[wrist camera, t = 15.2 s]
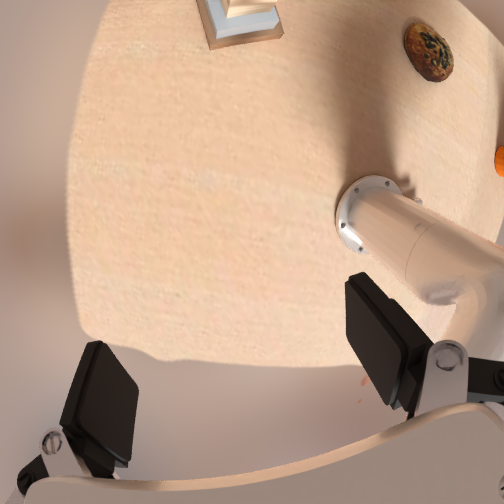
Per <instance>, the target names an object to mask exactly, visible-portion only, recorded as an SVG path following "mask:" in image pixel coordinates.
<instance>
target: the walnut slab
mask: <svg viewBox="0 0 504 504" xmlns="http://www.w3.org/2000/svg"><path fill="white" fill-rule="evenodd" d="M196 1H197V4H198V8H199V12H200V15H201V19H202V23H203V26H204V30H205V33H206V37H207V41H208V44H209V48H210V50H215V49H219V48H224V47H229V46H234V45H239V44H245V43H251V42H257V41H264V40H272V39H280V37H281V36H282V35H283V34H284V31H283V28H282V25H281V21H280V18H279V15H278V12H277V9H276V6H275V5H274V7H275V10H276V12H277V15H278V18H279V22H278V23H277V24H276V26H275V27H274V29H266V30H260V31H253V32H248V33H242V34H237V35H232V36H227V37H223V38H219V39H216V36H215V33H214V30H213V27H212V24H211V21H210V17H209V14H208V11H207V8H206V5H205V2H204V0H196Z"/></svg>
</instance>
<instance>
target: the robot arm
mask: <svg viewBox="0 0 504 504" xmlns="http://www.w3.org/2000/svg"><path fill="white" fill-rule="evenodd" d="M354 189H355V190H354ZM341 223H342V224H341ZM336 228H337V232H338V235H339V237H340V239H341V240H342V242H343V243H344V244H345V245H346V246H347V247H348V248H349V249H350V250H352V251H354V252H356V253H359V254H371V255H372V256H373V257H374V258H375V259H376V260H378V261H379V262H380V263H381V264H382V265H383V266H384V267H385V268H386V269H387V270H388V271H390V272H391V273H392V274H393V275H394V276H395V277H396V278H397V279H398V280H399V281H400V282H401V283H402V284H403V285H404V286H405V287H406V288H407V289H408V290H410V291H411V292H412V293H413V294H414V295H415V296H416V297H417V298H418V299H419V300H421V301H422V302H424V303H426V304H429V305H433V306H446V305H452V304H456V310H455V312H454V314H453V316H452V318H451V320H450V322H449V325H448V327H447V328H446V330H445V332H444V333H443V335H442V337H441V338H440V340H439V341H438V342H436V343H435V344H434V343H433V342H432V341H431V340H430V339H429V337H428V336H427V335H426V334H425V333H424V332H423V331H422V329H421V328H420V327H419V326H418V325H417V324H416V323H415V321H414V320H413V319H412V318H411V317H410V316H409V315H408V314H407V312H406V311H405V310H404V309H403V308H402V307H401V306H400V305H399V304H398V303H397V302H396V301H395V300H394V299H392V298H390V299H389V298H388V296H387V295H386V294H385V293H384V292H383V291H382V290H381V289H380V288H379V287H378V286H377V285H376V284H375V282H374V281H373V280H372V279H371V278H370V277H369V276H368V275H367V274H366V273H365V272H361V273H358V274H355V275H352V276H350V277H349V281H346V282H345V301H346V336H347V339H348V342H349V343H350V345H351V347H352V348H353V350H354V352H355V353H356V355H357V357H358V358H359V360H360V362H361V364H362V365H363V367H364V369H365V370H366V372H367V374H368V376H369V377H370V379H371V381H372V382H373V384H374V386H375V388H376V389H377V391H378V393H379V395H380V396H381V398H382V400H383V402H384V403H385V404H386V405H389V404H390V405H391V407H392V409H393V410H395V409H397V408H399V407H401V406H402V407H403V409H404V410H405V411H406V412H407V414H406V418H405V422H403V423H400V424H398V425H396V426H393V427H391V428H389V429H387V430H384V431H382V432H380V433H378V434H375V435H373V436H370V437H368V438H366V439H363V440H361V441H358V442H355V443H353V444H350V445H347V446H345V447H342V448H339V449H336V450H333V451H331V452H328V453H325V454H322V455H318V456H315V457H312V458H308V459H305V460H301V461H298V462H294V463H290V464H287V465H282V466H278V467H273V468H269V469H264V470H259V471H254V472H249V473H243V474H237V475H231V476H223V477H214V478H205V479H192V480H172V481H137V480H121V479H120V478H119V477H118V475H117V474H116V472H115V471H114V467H115V466H116V467H121V468H128V461H130V460H131V455H132V444H133V434H134V424H135V417H136V409H137V401H138V395H139V390H138V386H137V384H136V383H135V382H134V380H133V379H132V378H131V377H130V375H129V374H128V373H127V371H126V370H125V369H124V367H123V366H122V365H121V364H120V362H119V361H118V359H117V358H116V356H115V355H114V354H113V352H112V351H111V349H110V348H109V347H108V345H107V344H106V343H103V342H102V341H100V340H99V341H93V342H89V343H87V345H86V347H85V350H84V352H83V355H82V357H81V360H80V362H79V366H78V368H77V371H76V373H75V376H74V379H73V382H72V385H71V388H70V390H69V394H68V397H67V400H66V403H65V406H64V409H63V412H62V416H61V419H60V423H59V424H60V425H61V426H62V427H63V429H62V430H60V429H59V428H51V429H49V430H47V431H46V432H45V433H44V434H43V436H42V438H41V440H40V444H39V448H40V452H41V454H40V455H39V456H38V457H36V458H35V459H34V460H33V461H32V462H30V463H29V464H28V465H27V466H25V467H24V468H23V469H22V470H21V471H20V473H19V475H18V478H17V485H18V488H15V490H14V491H13V493H12V494H11V496H10V497H9V499H8V500H7V502H6V504H504V247H502V246H500V245H497V244H495V243H493V242H491V241H489V240H487V239H484V238H483V237H481V236H479V235H477V234H475V233H473V232H471V231H469V230H467V229H466V228H464V227H462V226H460V225H458V224H457V223H455V222H453V221H451V220H449V219H447V218H445V217H444V216H442V215H440V214H438V213H436V212H434V211H432V210H430V209H428V208H426V207H424V206H422V200H421V199H420V198H417V199H413V200H411V199H409V198H407V197H405V196H403V194H402V192H401V190H400V188H399V187H398V186H397V185H396V183H394V182H393V181H392V180H390V179H388V178H386V177H383V176H379V175H370V176H365V177H363V178H360V179H358V180H357V181H355V182H354V183H353V184H352V185H351V186H350V187H349V188H348V189H347V190H346V191H345V193H344V194H343V195H342V197H341V200H340V202H339V204H338V208H337V211H336Z"/></svg>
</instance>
